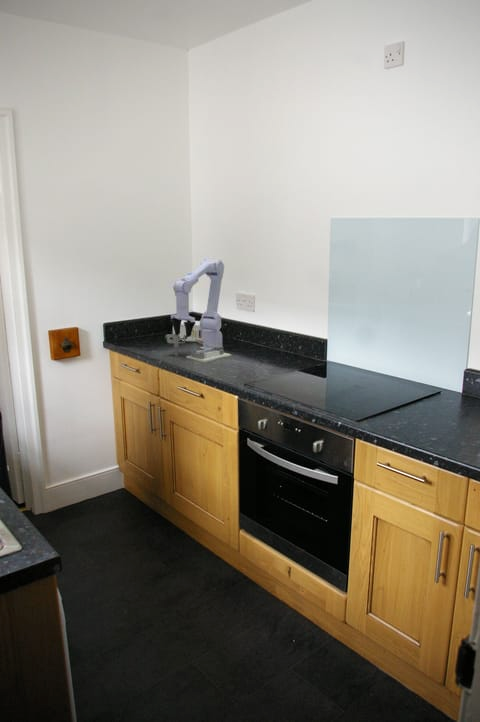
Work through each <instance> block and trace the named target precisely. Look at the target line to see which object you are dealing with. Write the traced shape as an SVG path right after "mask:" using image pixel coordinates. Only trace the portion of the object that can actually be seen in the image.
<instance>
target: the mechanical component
mask: <svg viewBox="0 0 480 722" xmlns="http://www.w3.org/2000/svg"><path fill="white" fill-rule="evenodd" d="M164 335H165V336H164V339H166V342H167V344H173V347H174V356H175V357H178V356H179V347H180V344H185V343H186V342H187V341H186V339H187V337H186V335H184V337H183V338H180V336H179V335H176V334H173V333H171V334H170V333H169V334H168V333H167V334H164ZM180 340H184V341H180Z"/></svg>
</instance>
